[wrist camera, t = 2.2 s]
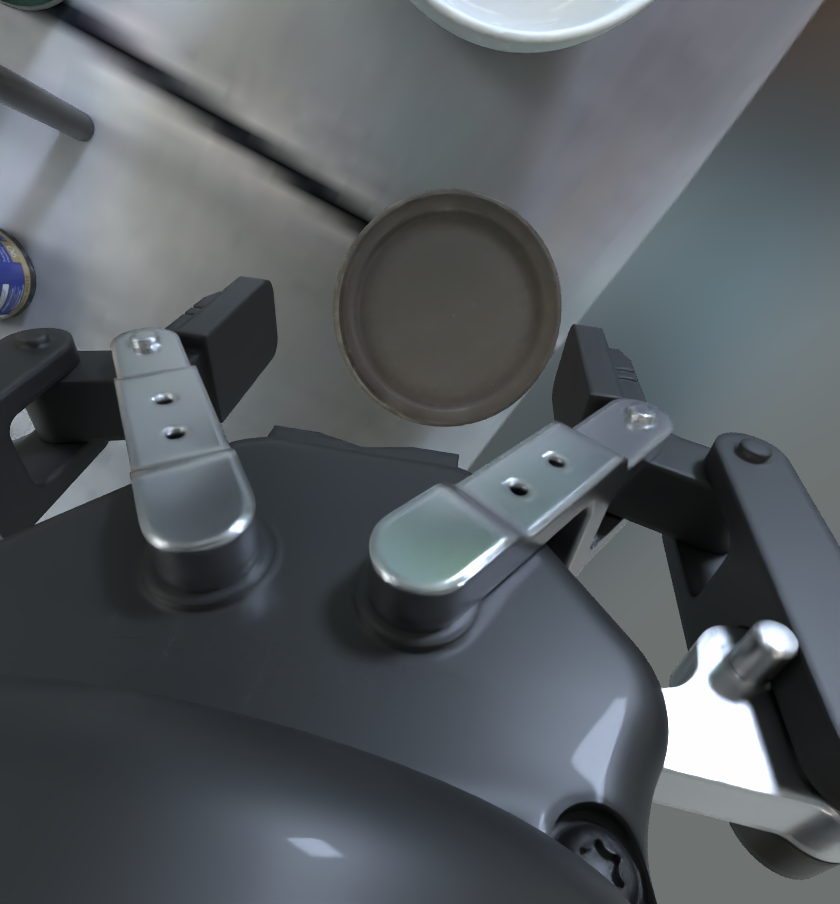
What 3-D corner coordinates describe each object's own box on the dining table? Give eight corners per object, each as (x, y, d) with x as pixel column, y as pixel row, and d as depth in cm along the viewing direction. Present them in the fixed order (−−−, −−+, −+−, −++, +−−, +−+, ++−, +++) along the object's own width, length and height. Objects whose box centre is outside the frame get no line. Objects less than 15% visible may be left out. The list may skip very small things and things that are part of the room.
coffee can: (426, 190, 34) (454, 129, 21) (526, 305, 37) (608, 317, 23) (321, 303, 36) (283, 315, 22) (423, 405, 38) (445, 469, 25)
